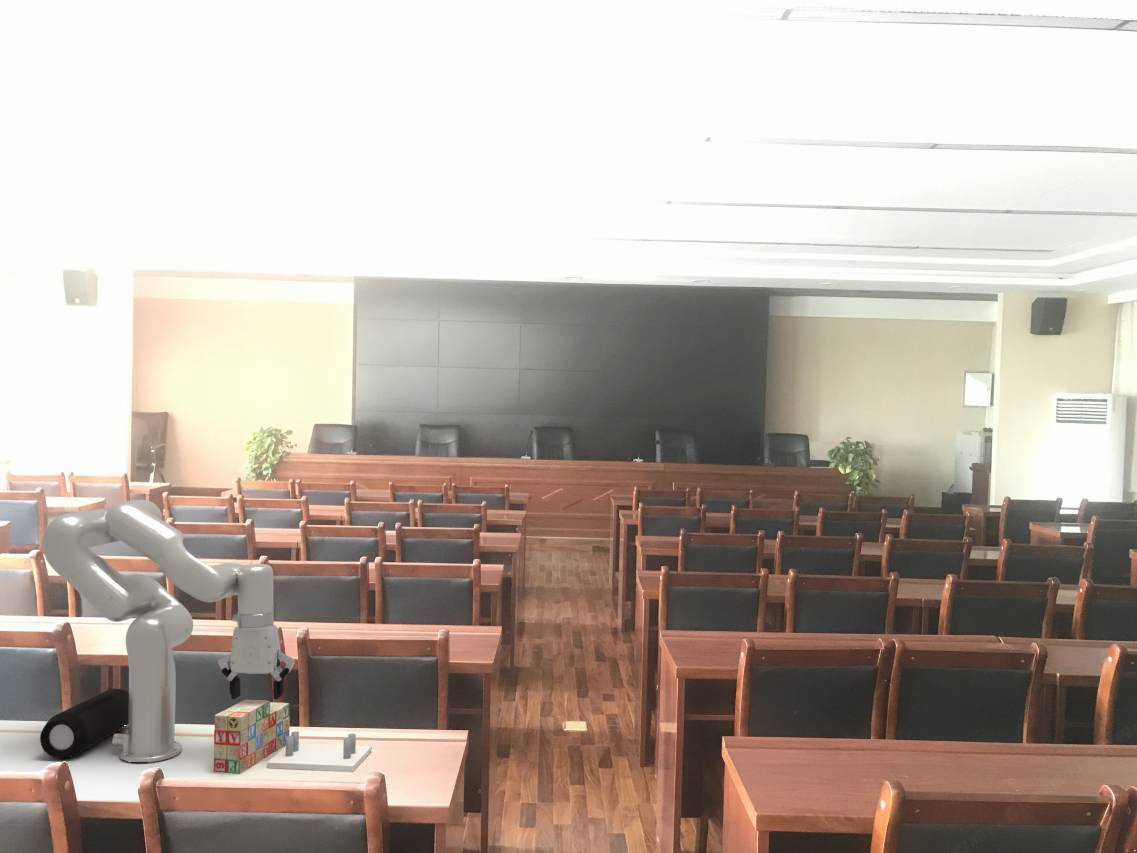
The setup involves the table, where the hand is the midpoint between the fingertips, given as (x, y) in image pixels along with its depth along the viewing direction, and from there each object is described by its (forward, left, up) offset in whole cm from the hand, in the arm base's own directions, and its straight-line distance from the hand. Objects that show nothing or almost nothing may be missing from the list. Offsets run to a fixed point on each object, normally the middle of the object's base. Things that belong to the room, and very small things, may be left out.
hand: (256, 697), depth 205 cm
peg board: (+15, 0, -13) cm, 20 cm away
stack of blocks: (-1, 0, -13) cm, 13 cm away
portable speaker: (-42, +5, -14) cm, 44 cm away
